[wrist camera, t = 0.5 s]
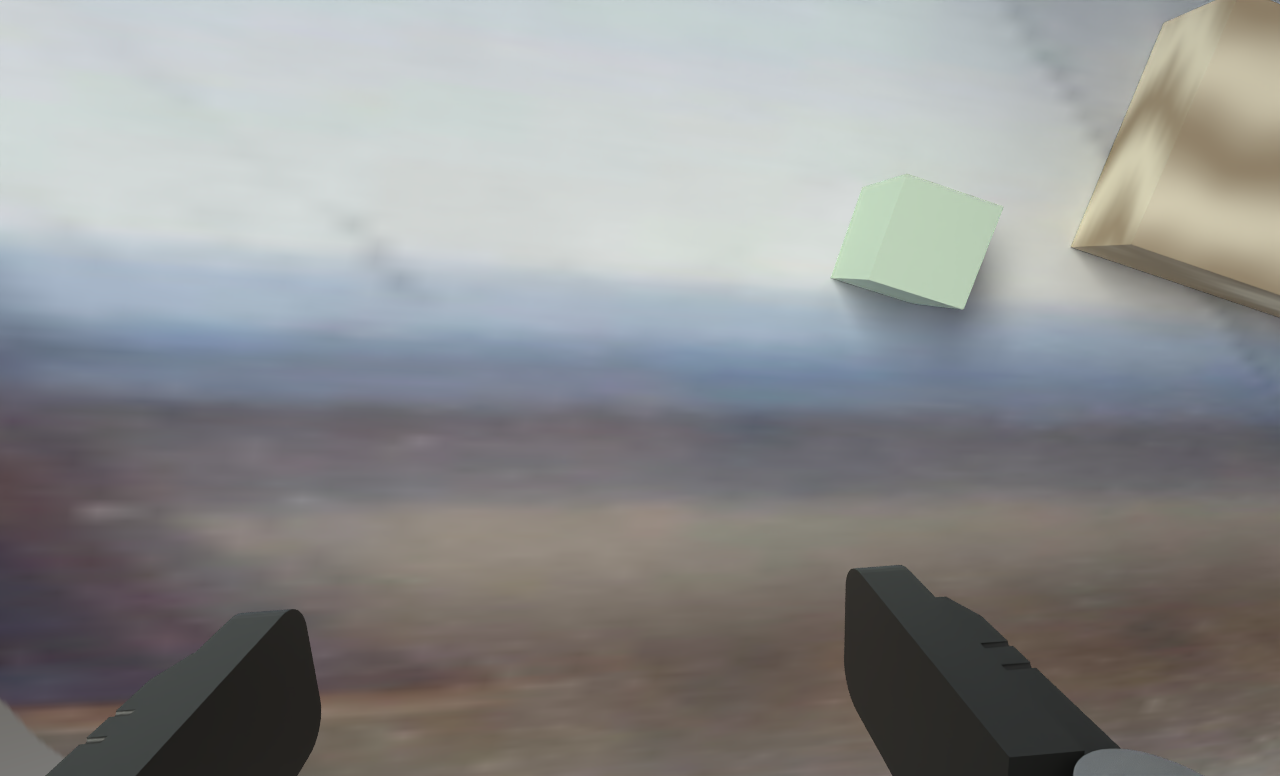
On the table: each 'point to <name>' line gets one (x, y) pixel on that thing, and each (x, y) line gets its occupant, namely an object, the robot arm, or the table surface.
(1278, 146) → the base block
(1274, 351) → the table surface
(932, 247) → the cube
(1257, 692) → the table surface
